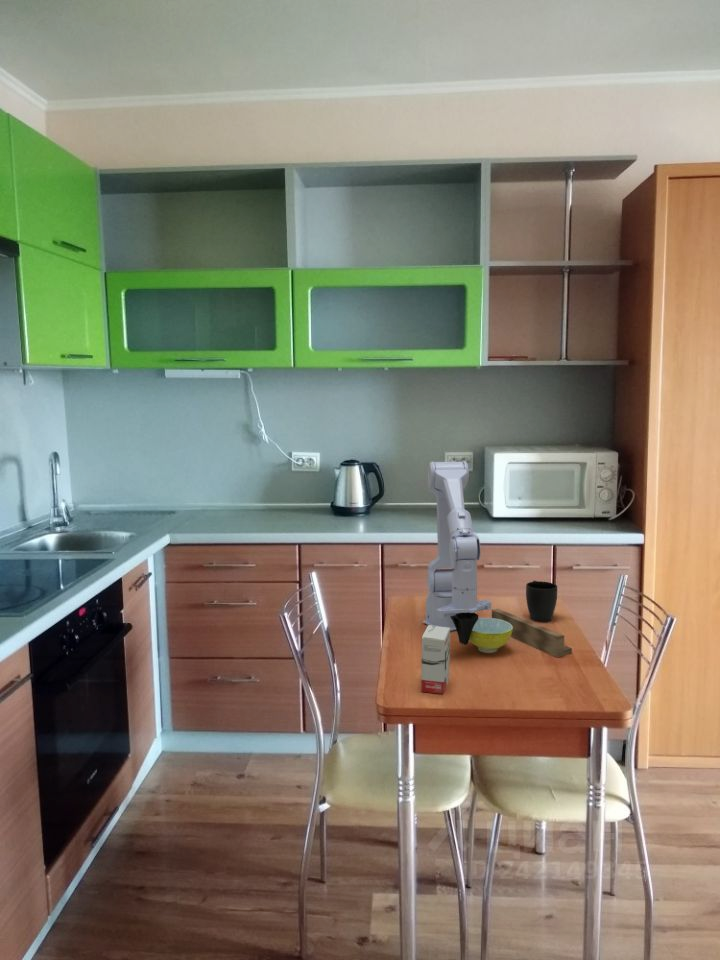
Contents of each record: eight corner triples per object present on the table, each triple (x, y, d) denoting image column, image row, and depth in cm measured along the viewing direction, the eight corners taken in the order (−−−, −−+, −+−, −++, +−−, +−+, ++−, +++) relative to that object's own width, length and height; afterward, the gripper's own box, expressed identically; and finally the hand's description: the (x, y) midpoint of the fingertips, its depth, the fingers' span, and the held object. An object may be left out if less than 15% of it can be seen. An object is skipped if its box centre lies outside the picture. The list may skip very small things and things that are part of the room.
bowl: (502, 662, 159) (503, 636, 159) (456, 652, 165) (456, 627, 165) (518, 646, 169) (519, 622, 168) (474, 638, 175) (474, 614, 174)
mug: (549, 610, 198) (550, 577, 197) (559, 624, 186) (560, 589, 185) (520, 610, 198) (521, 577, 197) (528, 623, 186) (529, 589, 185)
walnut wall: (491, 628, 183) (491, 609, 182) (506, 625, 185) (506, 606, 185) (557, 657, 162) (557, 636, 161) (573, 653, 164) (573, 633, 164)
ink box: (444, 694, 142) (444, 639, 141) (420, 692, 144) (420, 637, 142) (450, 678, 150) (450, 625, 149) (427, 676, 152) (427, 624, 150)
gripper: (448, 595, 155) (448, 654, 157) (500, 586, 162) (499, 643, 163) (431, 588, 161) (430, 644, 163) (481, 580, 168) (480, 634, 170)
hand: (463, 643), depth 164 cm, fingers closed
